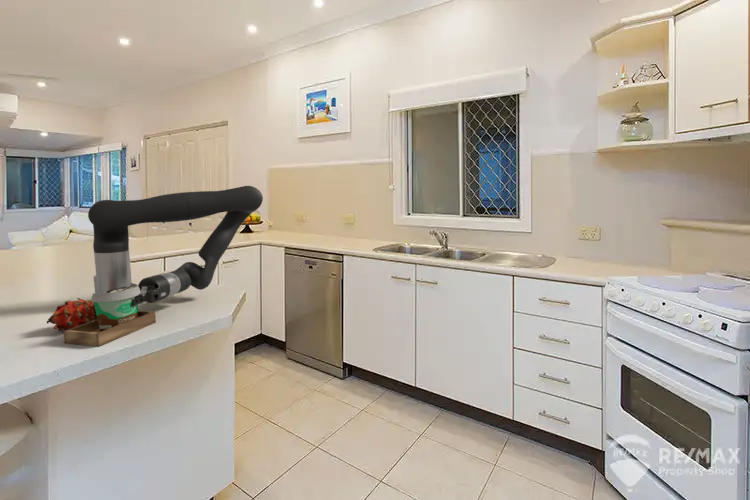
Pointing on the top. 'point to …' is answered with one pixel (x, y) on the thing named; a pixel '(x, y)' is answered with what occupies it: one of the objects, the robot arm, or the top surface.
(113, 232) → the robot arm
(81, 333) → the wooden tray
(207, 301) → the top surface
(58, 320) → the dragon fruit
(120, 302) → the food container
